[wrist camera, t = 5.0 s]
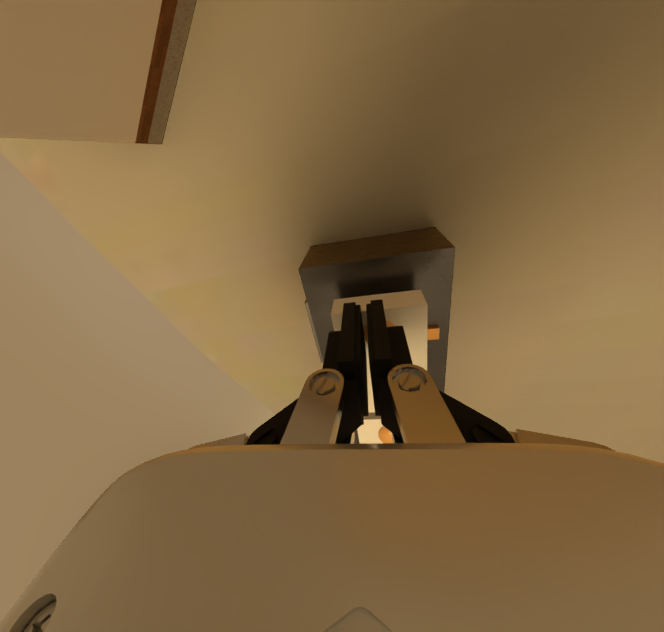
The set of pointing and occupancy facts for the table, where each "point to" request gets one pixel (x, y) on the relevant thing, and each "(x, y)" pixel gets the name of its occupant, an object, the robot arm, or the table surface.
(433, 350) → the power strip
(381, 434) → the cream flat rectangular block
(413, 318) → the rocker
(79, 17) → the display case
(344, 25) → the table surface
